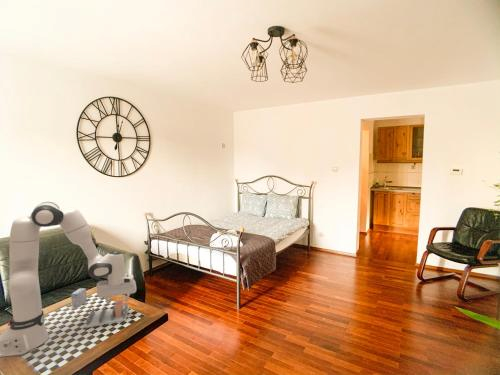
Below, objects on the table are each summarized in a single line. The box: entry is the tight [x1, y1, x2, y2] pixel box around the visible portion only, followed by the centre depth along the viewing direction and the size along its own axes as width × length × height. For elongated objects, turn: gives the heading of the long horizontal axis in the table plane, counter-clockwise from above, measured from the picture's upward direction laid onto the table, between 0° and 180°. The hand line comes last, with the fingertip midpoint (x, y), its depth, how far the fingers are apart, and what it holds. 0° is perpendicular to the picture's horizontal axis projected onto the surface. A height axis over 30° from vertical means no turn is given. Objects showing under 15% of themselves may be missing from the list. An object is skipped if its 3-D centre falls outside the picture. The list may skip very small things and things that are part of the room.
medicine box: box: [70, 287, 88, 308], centre depth 170 cm, size 8×4×9 cm, turn 178°
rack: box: [85, 302, 130, 329], centre depth 154 cm, size 20×14×4 cm
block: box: [114, 298, 124, 318], centre depth 156 cm, size 3×8×7 cm, turn 17°
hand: (117, 302), depth 155 cm, fingers open, 8 cm apart
